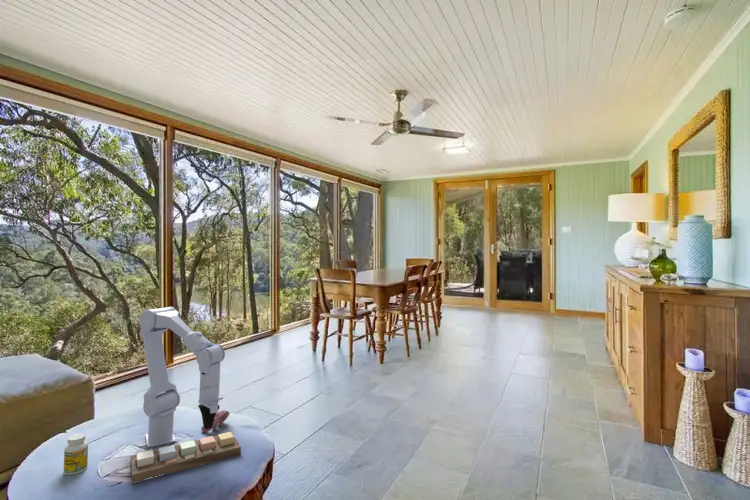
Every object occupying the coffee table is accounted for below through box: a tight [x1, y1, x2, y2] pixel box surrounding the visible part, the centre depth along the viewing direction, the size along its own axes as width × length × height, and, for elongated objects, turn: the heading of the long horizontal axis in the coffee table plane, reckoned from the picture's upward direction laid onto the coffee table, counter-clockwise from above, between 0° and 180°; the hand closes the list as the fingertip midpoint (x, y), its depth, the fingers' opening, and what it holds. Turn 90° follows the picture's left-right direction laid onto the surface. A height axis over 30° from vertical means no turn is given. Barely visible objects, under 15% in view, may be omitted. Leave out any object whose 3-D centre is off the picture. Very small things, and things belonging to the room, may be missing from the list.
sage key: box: [179, 439, 196, 456], centre depth 116 cm, size 4×4×3 cm
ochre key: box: [217, 431, 235, 447], centre depth 123 cm, size 4×4×3 cm
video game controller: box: [201, 409, 231, 433], centre depth 137 cm, size 10×5×7 cm, turn 169°
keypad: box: [129, 431, 242, 484], centre depth 116 cm, size 11×29×3 cm, turn 125°
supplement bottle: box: [63, 433, 89, 476], centre depth 108 cm, size 5×5×10 cm
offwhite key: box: [136, 449, 154, 468], centre depth 110 cm, size 4×4×3 cm
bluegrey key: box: [158, 444, 176, 462], centre depth 113 cm, size 4×4×3 cm
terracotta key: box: [199, 435, 216, 451], centre depth 119 cm, size 4×4×3 cm
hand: (207, 427), depth 119 cm, fingers closed
